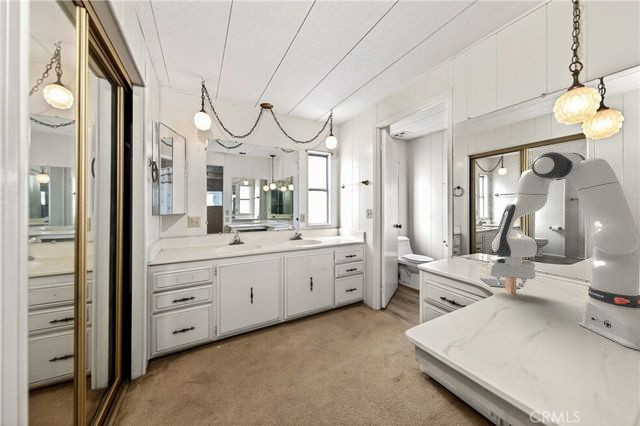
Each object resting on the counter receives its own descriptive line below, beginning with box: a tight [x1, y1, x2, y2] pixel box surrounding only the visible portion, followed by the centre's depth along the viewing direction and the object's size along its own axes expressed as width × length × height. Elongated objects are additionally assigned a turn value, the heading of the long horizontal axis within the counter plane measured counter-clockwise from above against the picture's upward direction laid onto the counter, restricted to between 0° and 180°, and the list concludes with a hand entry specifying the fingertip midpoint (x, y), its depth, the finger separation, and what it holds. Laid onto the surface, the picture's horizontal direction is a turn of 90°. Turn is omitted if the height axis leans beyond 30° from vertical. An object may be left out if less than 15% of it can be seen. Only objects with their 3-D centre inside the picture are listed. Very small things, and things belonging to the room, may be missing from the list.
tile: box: [504, 277, 517, 295], centre depth 124 cm, size 6×2×8 cm, turn 166°
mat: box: [479, 277, 521, 290], centre depth 137 cm, size 14×14×1 cm
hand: (510, 286), depth 124 cm, fingers open, 8 cm apart
